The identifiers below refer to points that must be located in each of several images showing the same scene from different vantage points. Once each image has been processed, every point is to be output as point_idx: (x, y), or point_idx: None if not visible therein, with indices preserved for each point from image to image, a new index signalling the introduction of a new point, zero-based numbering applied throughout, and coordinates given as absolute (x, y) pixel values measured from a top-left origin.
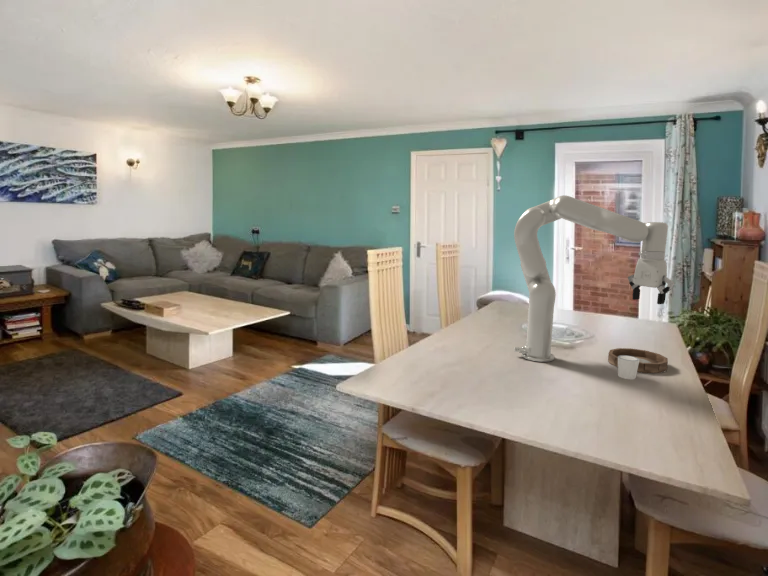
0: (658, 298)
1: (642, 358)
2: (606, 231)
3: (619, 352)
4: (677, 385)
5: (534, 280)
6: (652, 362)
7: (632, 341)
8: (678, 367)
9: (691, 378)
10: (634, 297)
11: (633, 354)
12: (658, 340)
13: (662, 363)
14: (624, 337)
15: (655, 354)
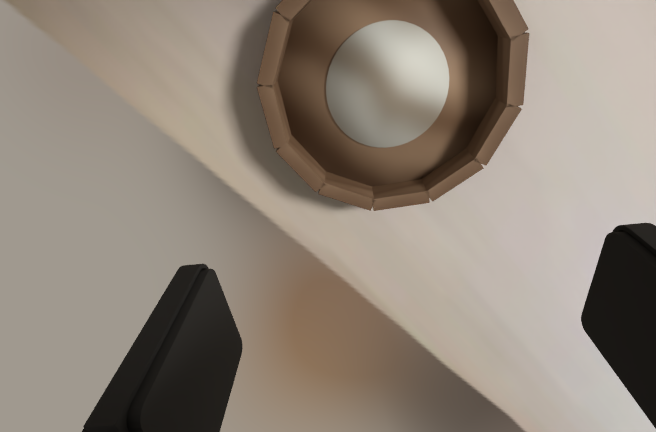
0: (159, 328)
1: (412, 156)
2: None
3: (500, 97)
4: (119, 16)
5: None
6: (356, 150)
7: None
8: (304, 213)
9: (192, 151)
10: (635, 248)
11: (459, 155)
12: (538, 381)
13: (264, 110)
14: None
15: (379, 197)
